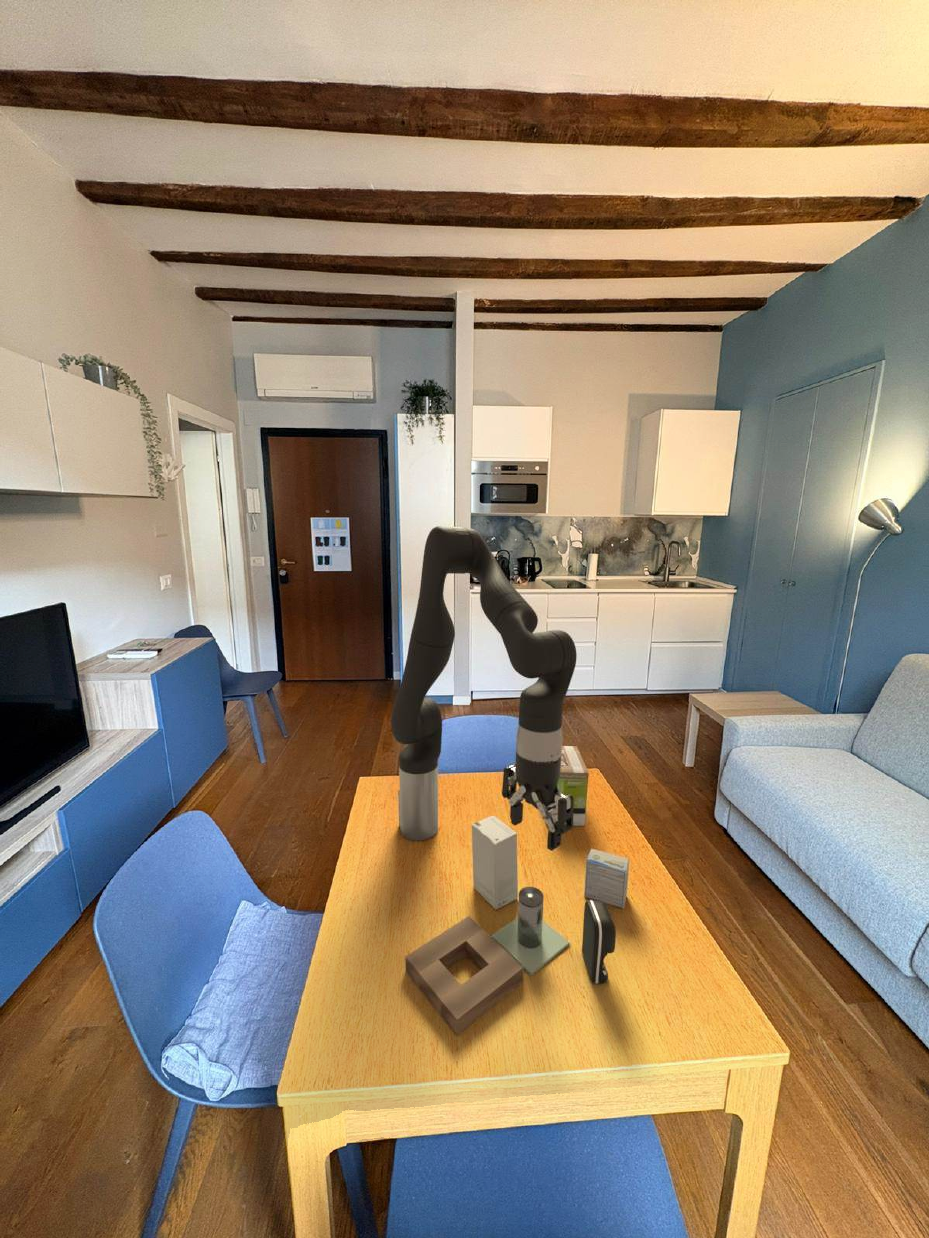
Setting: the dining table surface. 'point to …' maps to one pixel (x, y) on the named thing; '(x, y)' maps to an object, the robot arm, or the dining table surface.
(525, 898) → the shiny metal cylinder
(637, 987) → the dining table surface
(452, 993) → the bore block
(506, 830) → the skincare box
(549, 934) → the mat
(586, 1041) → the dining table surface
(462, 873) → the dining table surface
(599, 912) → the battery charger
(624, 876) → the medicine box
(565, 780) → the tea box
